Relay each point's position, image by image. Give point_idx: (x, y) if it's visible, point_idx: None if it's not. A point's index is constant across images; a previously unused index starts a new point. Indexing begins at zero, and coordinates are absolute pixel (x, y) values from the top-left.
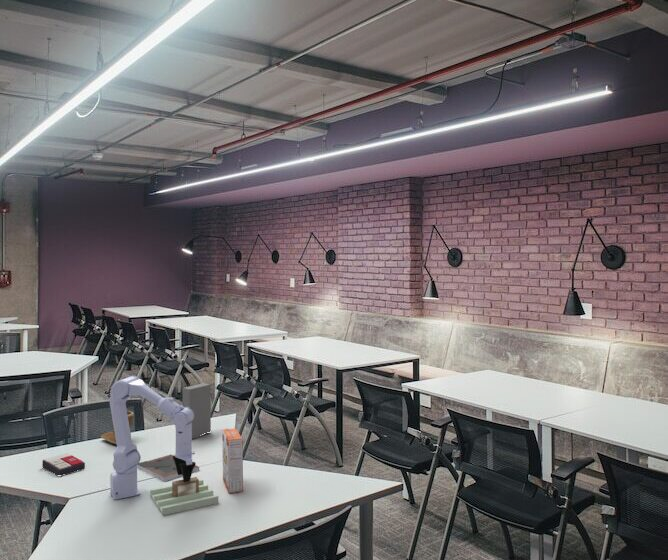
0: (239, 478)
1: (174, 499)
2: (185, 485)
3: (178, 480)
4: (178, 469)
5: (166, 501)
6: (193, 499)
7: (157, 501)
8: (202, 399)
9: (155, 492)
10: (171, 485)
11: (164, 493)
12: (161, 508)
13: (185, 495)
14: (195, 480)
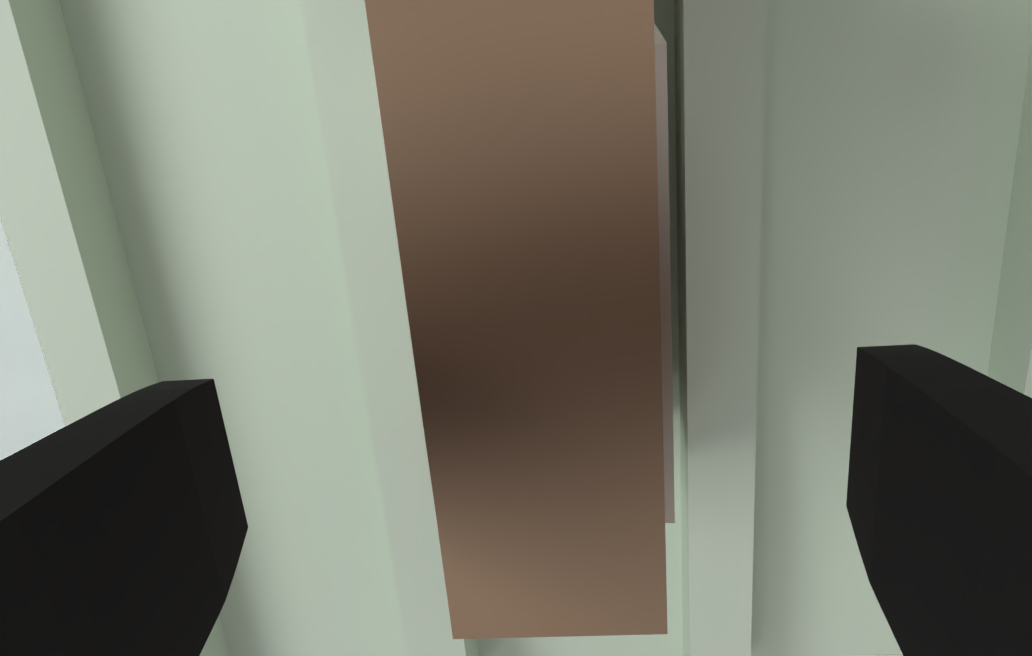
0: None
1: (754, 477)
2: (669, 339)
3: (444, 506)
4: (173, 650)
5: (747, 595)
6: (781, 87)
7: (542, 643)
8: None
9: (212, 631)
10: (59, 400)
11: (416, 577)
12: (843, 644)
13: (703, 265)
14: (651, 57)
